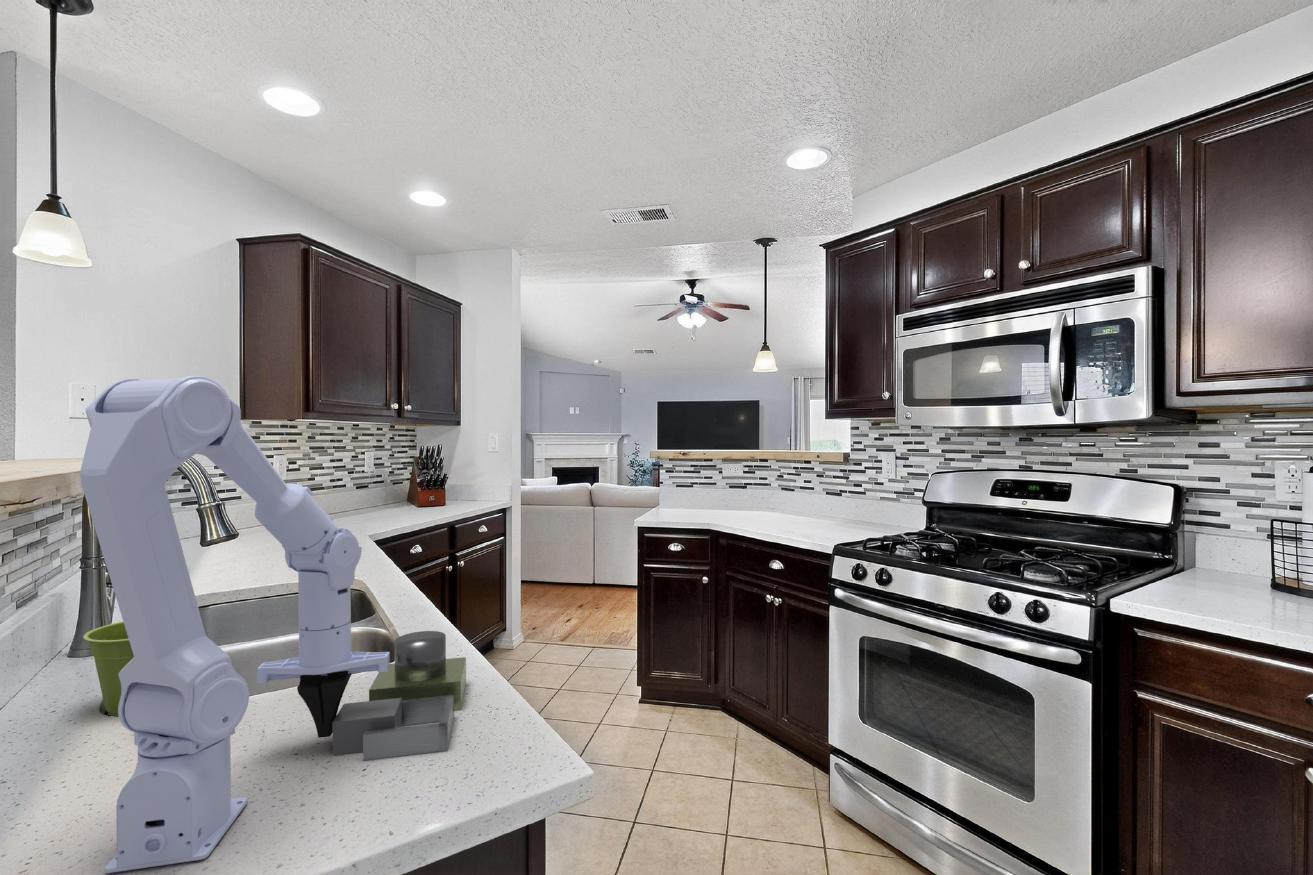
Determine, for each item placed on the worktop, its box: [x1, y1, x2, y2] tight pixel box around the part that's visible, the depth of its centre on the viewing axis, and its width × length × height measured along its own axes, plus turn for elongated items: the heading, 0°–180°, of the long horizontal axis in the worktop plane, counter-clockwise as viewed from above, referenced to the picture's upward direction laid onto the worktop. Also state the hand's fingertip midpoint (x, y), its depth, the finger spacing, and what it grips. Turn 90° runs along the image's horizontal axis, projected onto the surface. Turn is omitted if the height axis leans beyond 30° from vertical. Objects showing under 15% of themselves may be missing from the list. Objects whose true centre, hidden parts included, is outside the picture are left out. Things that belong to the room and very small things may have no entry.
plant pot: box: [82, 621, 134, 715], centre depth 91 cm, size 12×12×11 cm
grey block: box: [332, 698, 403, 756], centre depth 79 cm, size 6×7×4 cm
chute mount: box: [362, 630, 467, 762], centre depth 85 cm, size 22×12×9 cm, turn 13°
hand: (326, 733), depth 77 cm, fingers closed
